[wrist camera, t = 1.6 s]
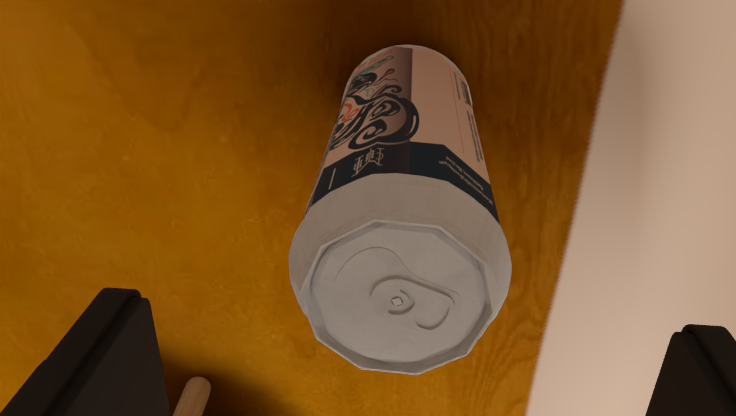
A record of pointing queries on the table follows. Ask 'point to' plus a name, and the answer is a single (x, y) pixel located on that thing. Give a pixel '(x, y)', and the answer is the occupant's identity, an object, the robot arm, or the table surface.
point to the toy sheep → (193, 397)
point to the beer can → (402, 221)
